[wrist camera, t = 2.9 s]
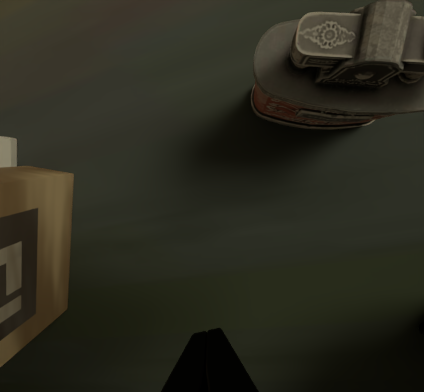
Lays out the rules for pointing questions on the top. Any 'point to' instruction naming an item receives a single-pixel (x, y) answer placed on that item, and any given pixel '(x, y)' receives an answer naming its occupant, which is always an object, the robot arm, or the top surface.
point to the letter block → (32, 252)
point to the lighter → (341, 67)
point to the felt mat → (8, 152)
